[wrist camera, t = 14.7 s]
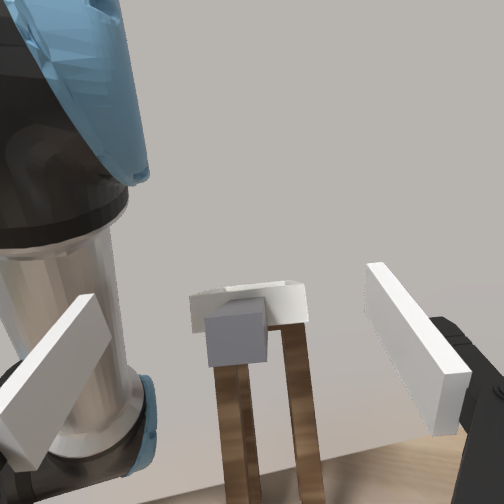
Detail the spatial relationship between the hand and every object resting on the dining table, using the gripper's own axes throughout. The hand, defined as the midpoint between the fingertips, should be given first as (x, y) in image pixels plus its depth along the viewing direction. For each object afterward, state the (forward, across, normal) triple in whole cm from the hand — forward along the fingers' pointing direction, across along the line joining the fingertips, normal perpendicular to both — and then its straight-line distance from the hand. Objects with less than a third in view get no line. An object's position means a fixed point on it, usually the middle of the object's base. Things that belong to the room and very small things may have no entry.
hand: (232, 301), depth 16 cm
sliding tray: (+11, 0, -10) cm, 15 cm away
